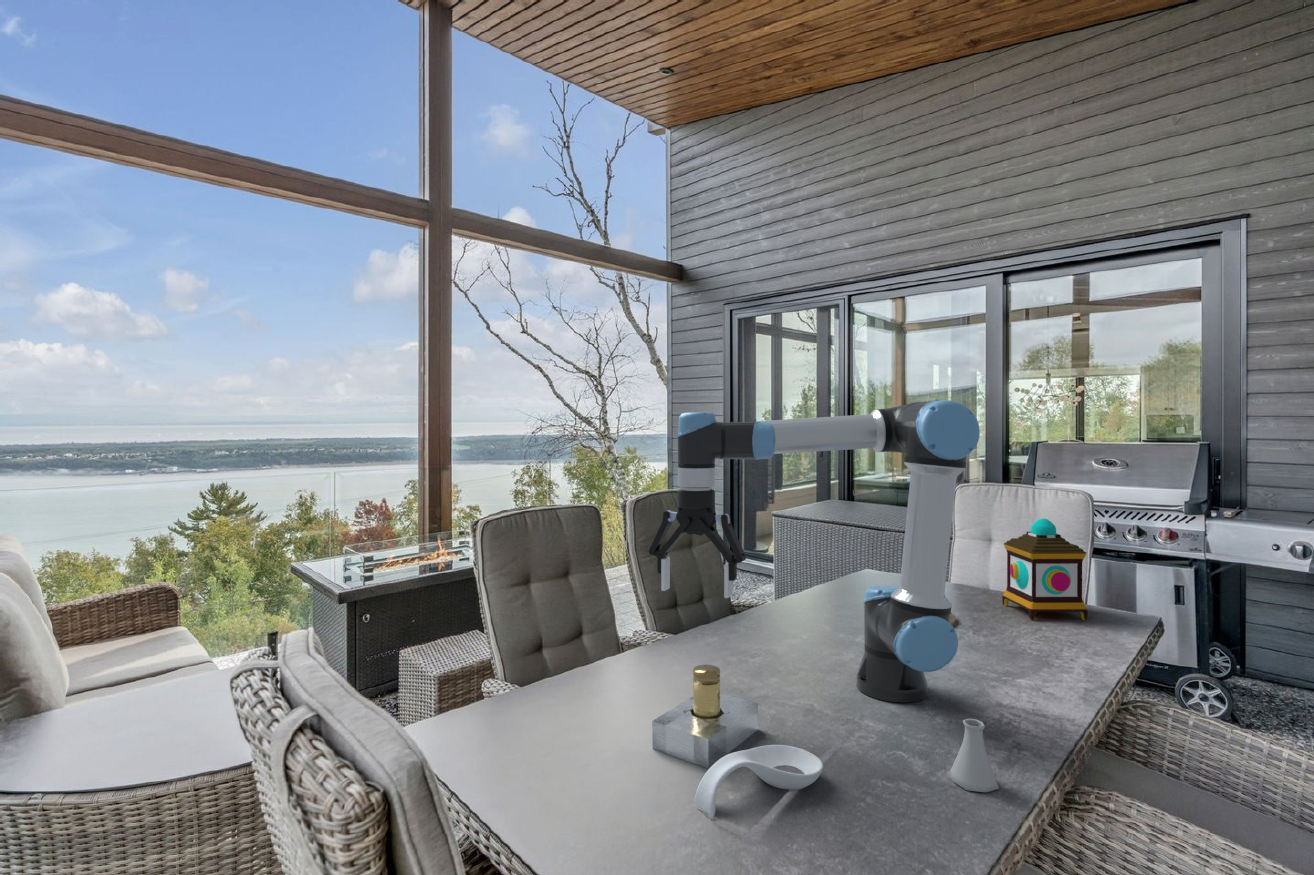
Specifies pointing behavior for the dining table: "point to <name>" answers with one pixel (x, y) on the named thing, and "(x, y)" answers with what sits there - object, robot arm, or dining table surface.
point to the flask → (973, 761)
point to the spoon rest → (759, 771)
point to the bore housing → (704, 730)
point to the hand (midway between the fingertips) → (696, 593)
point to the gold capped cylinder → (706, 692)
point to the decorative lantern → (1044, 572)
